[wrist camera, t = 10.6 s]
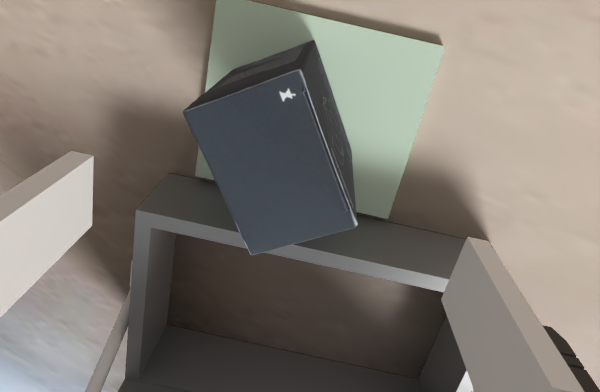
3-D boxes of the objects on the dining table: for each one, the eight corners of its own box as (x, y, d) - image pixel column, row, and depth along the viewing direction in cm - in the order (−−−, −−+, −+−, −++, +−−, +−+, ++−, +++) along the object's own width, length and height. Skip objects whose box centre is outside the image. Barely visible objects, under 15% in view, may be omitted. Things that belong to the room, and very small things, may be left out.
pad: (197, 172, 33) (194, 175, 32) (219, -7, 28) (217, -7, 27) (387, 215, 33) (387, 219, 32) (443, 45, 28) (445, 46, 27)
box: (231, 69, 29) (178, 109, 19) (315, 37, 28) (303, 64, 18) (275, 178, 32) (248, 261, 22) (353, 153, 31) (361, 229, 21)
